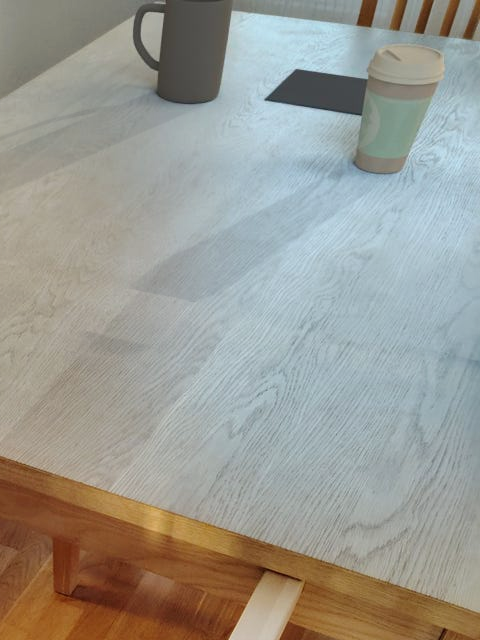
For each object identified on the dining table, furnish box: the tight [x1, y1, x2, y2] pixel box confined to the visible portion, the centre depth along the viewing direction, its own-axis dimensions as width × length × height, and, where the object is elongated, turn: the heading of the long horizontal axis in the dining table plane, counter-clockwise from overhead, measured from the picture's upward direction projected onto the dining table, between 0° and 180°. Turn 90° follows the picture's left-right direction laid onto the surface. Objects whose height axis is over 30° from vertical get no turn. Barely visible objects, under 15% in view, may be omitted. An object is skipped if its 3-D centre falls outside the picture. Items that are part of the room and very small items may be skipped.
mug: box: [132, 0, 234, 104], centre depth 126 cm, size 14×9×12 cm
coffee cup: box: [354, 43, 446, 175], centre depth 107 cm, size 8×8×12 cm
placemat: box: [264, 68, 368, 116], centre depth 128 cm, size 20×15×1 cm
